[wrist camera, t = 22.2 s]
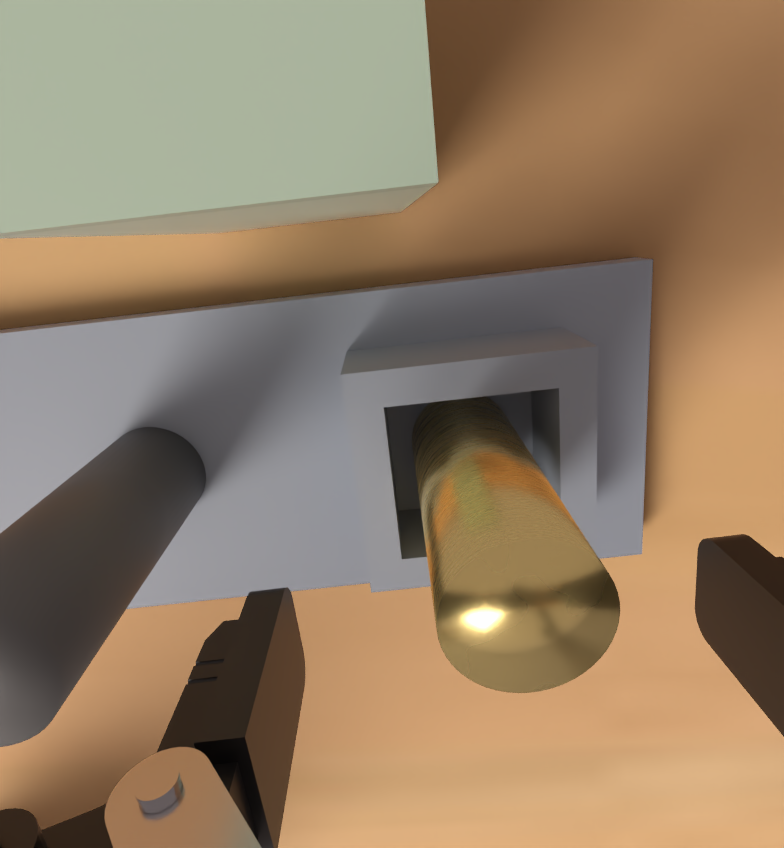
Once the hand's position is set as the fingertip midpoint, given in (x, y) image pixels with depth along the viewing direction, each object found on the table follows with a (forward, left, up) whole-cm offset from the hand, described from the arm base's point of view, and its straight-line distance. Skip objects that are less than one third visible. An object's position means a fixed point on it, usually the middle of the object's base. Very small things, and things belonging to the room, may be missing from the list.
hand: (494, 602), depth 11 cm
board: (0, +4, -9) cm, 10 cm away
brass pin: (0, -1, -8) cm, 8 cm away
